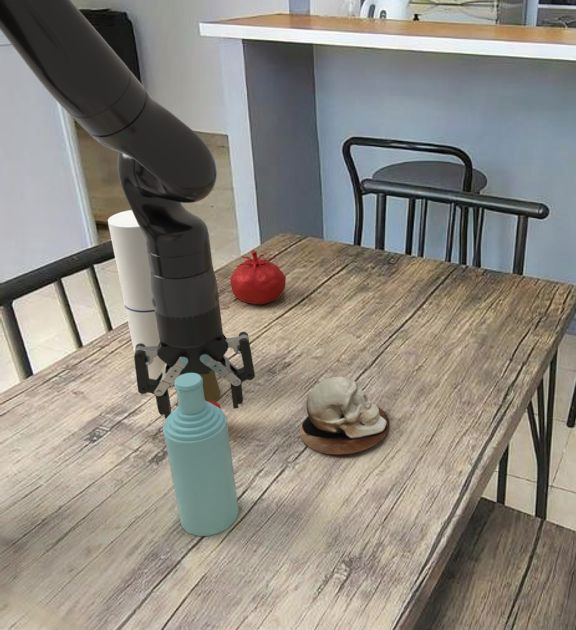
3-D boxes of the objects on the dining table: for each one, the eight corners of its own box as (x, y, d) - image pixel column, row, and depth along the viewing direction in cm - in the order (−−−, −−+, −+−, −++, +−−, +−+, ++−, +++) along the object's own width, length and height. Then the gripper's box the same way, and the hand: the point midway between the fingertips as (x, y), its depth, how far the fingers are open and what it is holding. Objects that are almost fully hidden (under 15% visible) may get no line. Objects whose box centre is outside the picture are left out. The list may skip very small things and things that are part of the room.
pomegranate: (262, 315, 121) (258, 267, 116) (221, 301, 125) (215, 254, 121) (298, 294, 128) (295, 248, 124) (258, 282, 133) (253, 237, 128)
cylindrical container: (151, 393, 99) (120, 231, 87) (131, 372, 103) (99, 216, 92) (197, 375, 103) (173, 219, 91) (176, 357, 108) (151, 205, 96)
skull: (402, 400, 97) (390, 381, 87) (384, 472, 93) (369, 461, 84) (323, 384, 99) (302, 364, 90) (303, 454, 96) (280, 441, 86)
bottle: (179, 541, 74) (152, 401, 66) (181, 500, 80) (156, 366, 71) (239, 530, 76) (221, 392, 67) (237, 491, 81) (220, 359, 73)
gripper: (244, 282, 87) (254, 387, 95) (125, 293, 84) (146, 401, 91) (249, 308, 81) (259, 418, 89) (120, 321, 77) (143, 435, 85)
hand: (202, 410), depth 90 cm, fingers open, 8 cm apart
